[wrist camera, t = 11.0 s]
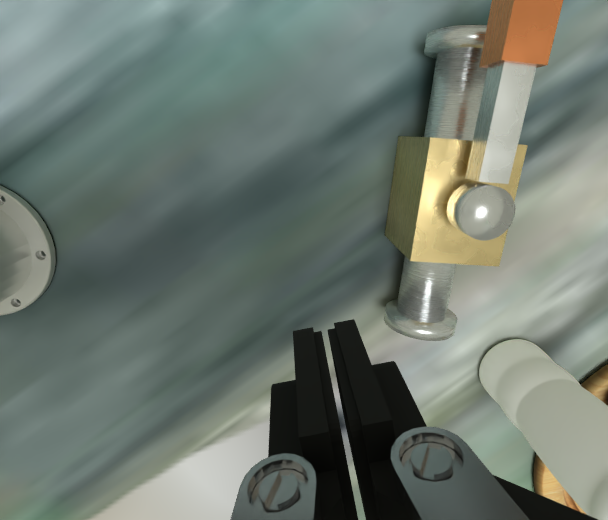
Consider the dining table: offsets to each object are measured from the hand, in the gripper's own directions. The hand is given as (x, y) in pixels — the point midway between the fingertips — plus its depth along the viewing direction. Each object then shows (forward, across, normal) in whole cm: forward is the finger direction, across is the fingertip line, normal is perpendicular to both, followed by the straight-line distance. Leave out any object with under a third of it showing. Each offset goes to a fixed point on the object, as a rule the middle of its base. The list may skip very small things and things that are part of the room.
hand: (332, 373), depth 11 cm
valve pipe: (+27, -12, +1) cm, 30 cm away
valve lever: (+19, -14, -5) cm, 24 cm away
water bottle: (+27, -19, +22) cm, 40 cm away
